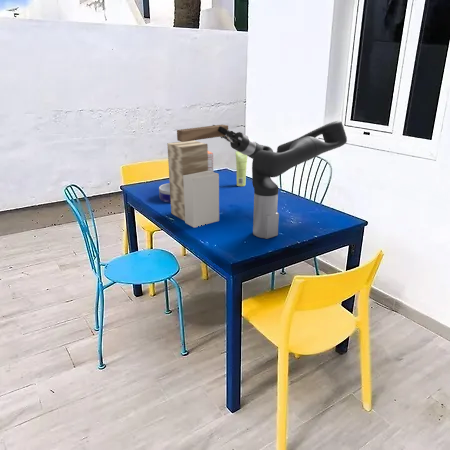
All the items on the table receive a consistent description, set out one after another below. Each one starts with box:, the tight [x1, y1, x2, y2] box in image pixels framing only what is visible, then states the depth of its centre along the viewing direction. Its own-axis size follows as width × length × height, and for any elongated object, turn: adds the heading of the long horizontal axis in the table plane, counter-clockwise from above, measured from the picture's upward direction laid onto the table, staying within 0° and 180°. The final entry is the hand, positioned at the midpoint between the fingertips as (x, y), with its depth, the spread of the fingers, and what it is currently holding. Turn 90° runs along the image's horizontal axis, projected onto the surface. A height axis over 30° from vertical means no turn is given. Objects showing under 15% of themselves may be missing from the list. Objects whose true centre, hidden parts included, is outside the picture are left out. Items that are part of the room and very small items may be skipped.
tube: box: [235, 150, 248, 187], centre depth 216 cm, size 6×5×20 cm
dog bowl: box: [158, 182, 171, 203], centre depth 199 cm, size 15×15×6 cm
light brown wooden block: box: [176, 124, 229, 142], centre depth 156 cm, size 4×22×4 cm, turn 128°
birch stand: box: [166, 140, 209, 222], centre depth 172 cm, size 12×12×32 cm
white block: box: [183, 171, 220, 229], centre depth 165 cm, size 7×13×21 cm, turn 127°
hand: (215, 127), depth 159 cm, fingers closed on light brown wooden block, 4 cm apart
